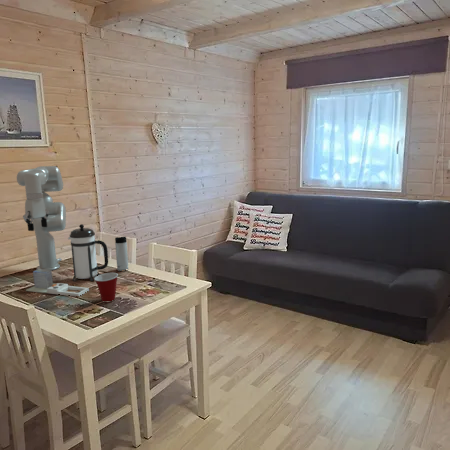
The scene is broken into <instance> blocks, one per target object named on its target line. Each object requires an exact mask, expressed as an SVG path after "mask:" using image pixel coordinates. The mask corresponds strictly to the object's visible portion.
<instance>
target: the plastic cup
mask: <svg viewBox="0 0 450 450" xmlns="http://www.w3.org/2000/svg"><path fill="white" fill-rule="evenodd" d="M118 276H119V274H118V273H116V272H107V273H102V274H99V275H98V276H97V275H95V276H94V277H93V278H94V282H96V285H97V289H98V292H99V295H100V299H101V301H102V302H103V301H112V300H114V299H115V298H116V292H117V281H118ZM115 300H116V299H115ZM115 300H114V301H115ZM112 302H113V301H112Z"/></svg>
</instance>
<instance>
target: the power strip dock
mask: <svg viewBox="0 0 450 450" xmlns="http://www.w3.org/2000/svg"><path fill="white" fill-rule="evenodd" d="M69 290H70V291H69ZM77 290H80V291H79V292H74V291H77ZM87 291H88V292H89V291H90V289H89V287H81V286H73V285H69V284H68V283H62V282H57V284H53V285H52V286H51V287H49V288H47V293H46V294H51V295H58V294H60V295H62V296H67V295H70V296H69V297H76V296H79V297H81V296H83V295H84V294H86V293H87ZM85 292H86V293H85ZM82 294H83V295H82ZM80 295H81V296H80Z"/></svg>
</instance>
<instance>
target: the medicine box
mask: <svg viewBox="0 0 450 450" xmlns="http://www.w3.org/2000/svg"><path fill="white" fill-rule="evenodd" d="M32 275H33V283H34V285H33V286H35V287H36V288H49V287H51V286H52V285H53V283H54V282H53V274H52V270H44V269H38V270H37V269H36V270H33V271H32Z"/></svg>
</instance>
